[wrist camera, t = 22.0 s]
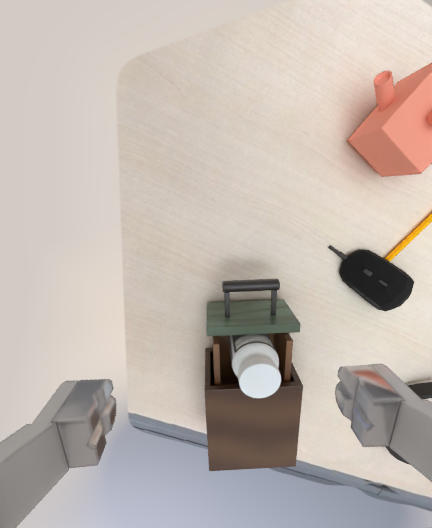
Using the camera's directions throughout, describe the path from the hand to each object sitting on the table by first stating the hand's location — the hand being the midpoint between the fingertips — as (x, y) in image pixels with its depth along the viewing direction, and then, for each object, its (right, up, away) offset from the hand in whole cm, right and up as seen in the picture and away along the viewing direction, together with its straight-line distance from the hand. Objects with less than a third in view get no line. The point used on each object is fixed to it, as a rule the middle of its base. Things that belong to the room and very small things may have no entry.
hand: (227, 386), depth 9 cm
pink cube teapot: (+20, +21, +22) cm, 36 cm away
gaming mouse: (+22, +3, +27) cm, 35 cm away
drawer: (+4, -5, +28) cm, 29 cm away
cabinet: (+4, -16, +33) cm, 36 cm away
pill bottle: (+4, -6, +27) cm, 28 cm away
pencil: (+30, +12, +25) cm, 41 cm away
